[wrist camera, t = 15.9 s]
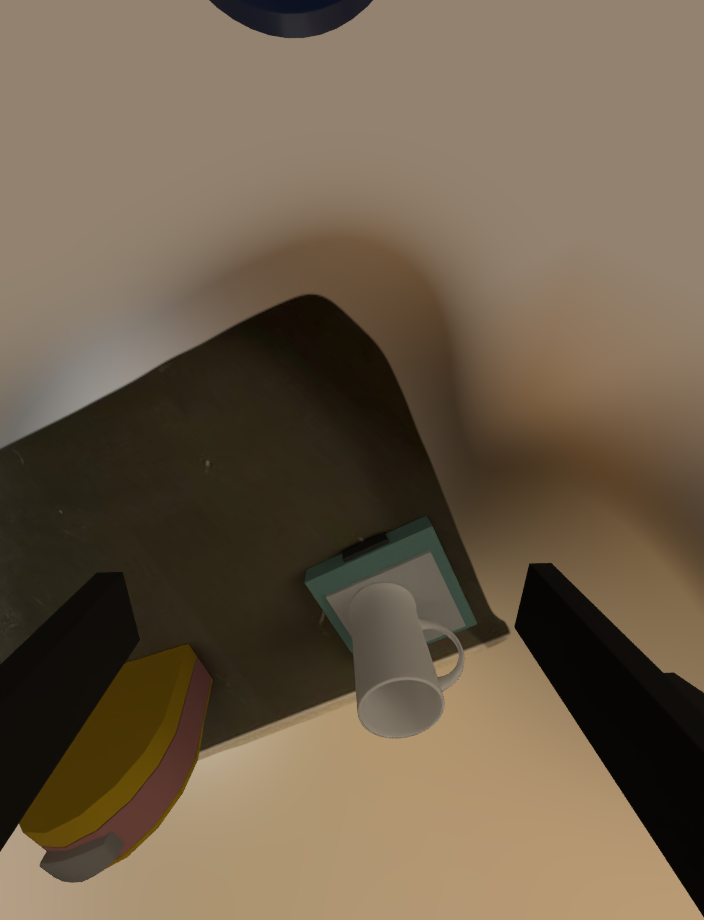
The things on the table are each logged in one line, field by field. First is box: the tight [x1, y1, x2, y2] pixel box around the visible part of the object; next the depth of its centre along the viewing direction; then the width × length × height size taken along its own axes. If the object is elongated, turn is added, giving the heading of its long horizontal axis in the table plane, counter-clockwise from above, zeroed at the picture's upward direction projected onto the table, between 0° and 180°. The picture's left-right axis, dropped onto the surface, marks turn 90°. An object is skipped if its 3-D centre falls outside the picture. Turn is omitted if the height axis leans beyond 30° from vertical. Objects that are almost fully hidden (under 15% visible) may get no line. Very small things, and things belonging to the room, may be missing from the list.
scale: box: [305, 516, 477, 655], centre depth 42 cm, size 17×18×3 cm
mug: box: [348, 582, 464, 738], centre depth 35 cm, size 12×8×12 cm
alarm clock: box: [19, 644, 213, 882], centre depth 38 cm, size 15×8×18 cm, turn 109°
